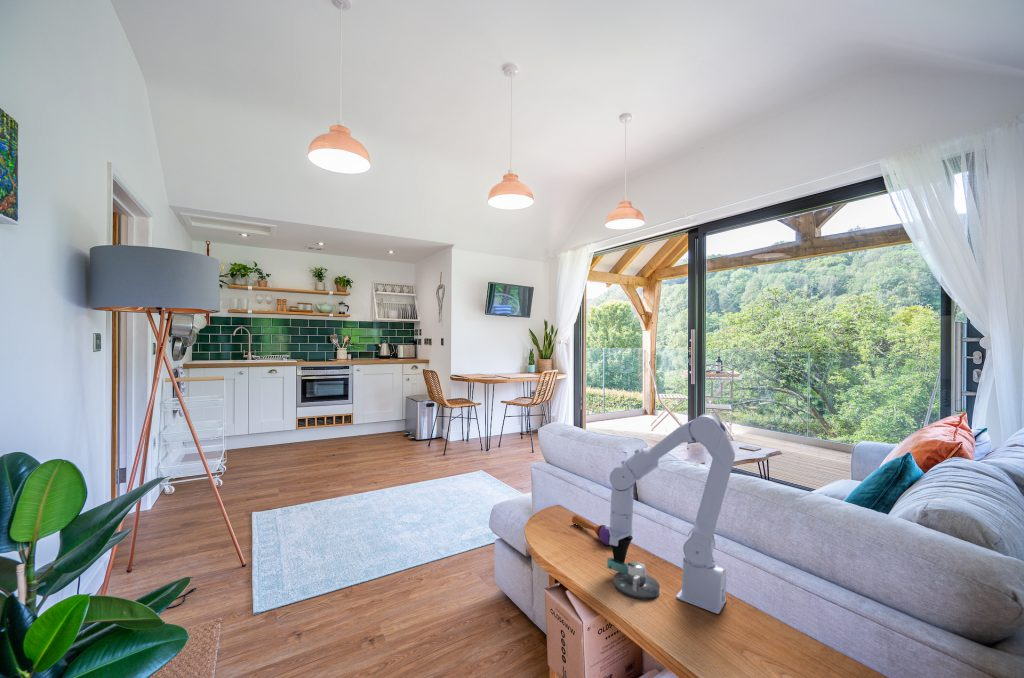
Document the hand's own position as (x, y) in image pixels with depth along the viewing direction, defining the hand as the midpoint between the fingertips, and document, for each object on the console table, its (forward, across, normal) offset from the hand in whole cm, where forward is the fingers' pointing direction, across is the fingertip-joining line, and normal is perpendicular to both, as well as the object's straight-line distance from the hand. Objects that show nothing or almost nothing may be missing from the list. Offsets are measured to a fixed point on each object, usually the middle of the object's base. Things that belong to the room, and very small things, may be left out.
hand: (619, 564), depth 112 cm
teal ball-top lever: (+1, +3, +3) cm, 4 cm away
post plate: (+3, +4, +5) cm, 7 cm away
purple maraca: (+3, -22, -14) cm, 26 cm away
